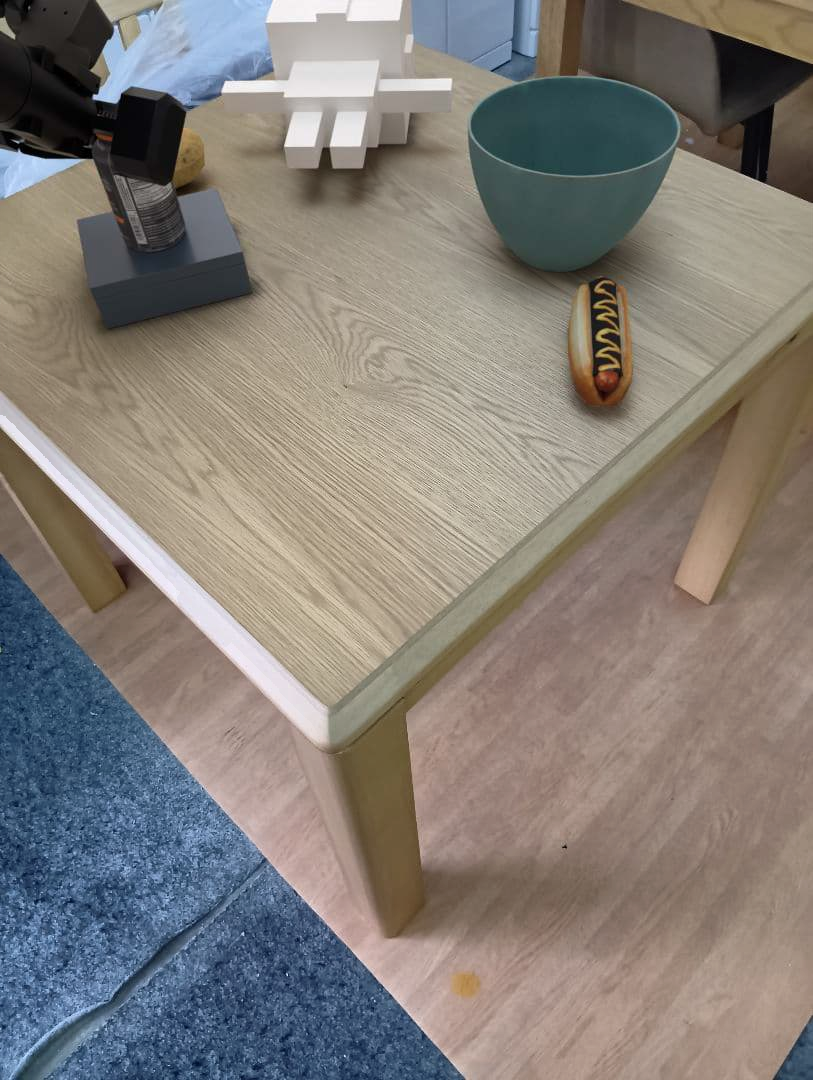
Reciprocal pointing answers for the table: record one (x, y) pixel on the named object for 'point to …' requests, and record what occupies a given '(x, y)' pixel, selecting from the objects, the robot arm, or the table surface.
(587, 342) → the hot dog
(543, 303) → the table surface
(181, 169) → the potato
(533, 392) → the table surface
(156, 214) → the pill bottle
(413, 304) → the table surface
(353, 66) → the white voxel figure
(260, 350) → the table surface
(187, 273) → the blue lidded box
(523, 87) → the teal bowl
